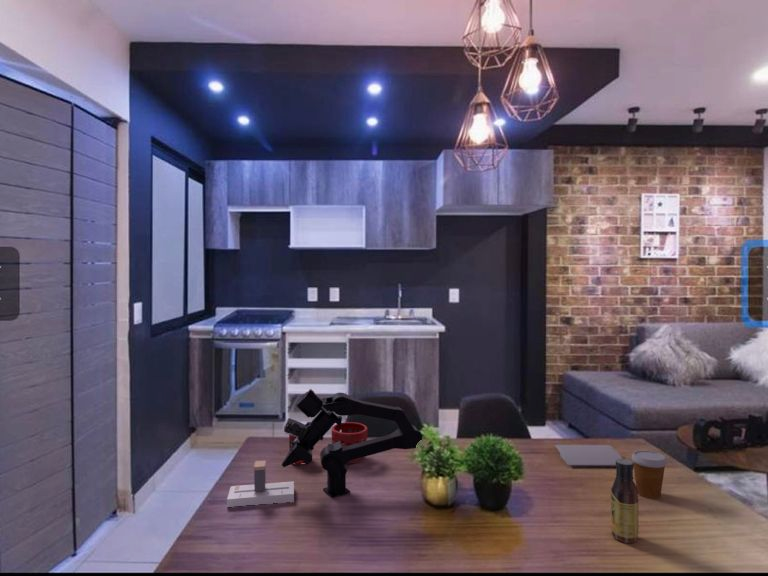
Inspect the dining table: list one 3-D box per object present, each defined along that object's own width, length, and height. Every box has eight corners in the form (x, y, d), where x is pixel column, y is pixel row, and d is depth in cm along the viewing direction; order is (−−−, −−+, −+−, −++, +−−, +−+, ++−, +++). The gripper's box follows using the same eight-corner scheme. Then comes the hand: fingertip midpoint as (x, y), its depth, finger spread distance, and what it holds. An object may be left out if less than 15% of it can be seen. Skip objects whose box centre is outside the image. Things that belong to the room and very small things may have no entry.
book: (549, 453, 184) (549, 443, 184) (610, 453, 184) (610, 443, 184) (563, 469, 169) (564, 458, 169) (630, 469, 168) (630, 458, 168)
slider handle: (266, 484, 149) (265, 460, 148) (265, 491, 144) (264, 466, 144) (255, 485, 148) (255, 461, 148) (254, 492, 143) (253, 467, 143)
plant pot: (325, 464, 173) (325, 430, 173) (339, 451, 186) (339, 420, 185) (360, 468, 169) (360, 433, 169) (372, 455, 182) (372, 423, 182)
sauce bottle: (614, 529, 127) (614, 454, 127) (640, 537, 123) (641, 459, 123) (607, 539, 122) (607, 461, 122) (634, 548, 118) (635, 467, 118)
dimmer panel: (294, 489, 152) (293, 481, 152) (294, 502, 143) (293, 493, 143) (231, 494, 149) (230, 486, 149) (227, 507, 140) (226, 499, 140)
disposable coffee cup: (630, 497, 146) (631, 457, 146) (631, 485, 154) (631, 447, 154) (667, 504, 141) (667, 463, 141) (665, 491, 150) (666, 452, 150)
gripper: (299, 402, 157) (264, 438, 155) (300, 418, 139) (260, 460, 137) (324, 424, 159) (290, 461, 157) (328, 443, 140) (289, 485, 138)
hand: (282, 465), depth 147 cm, fingers closed
